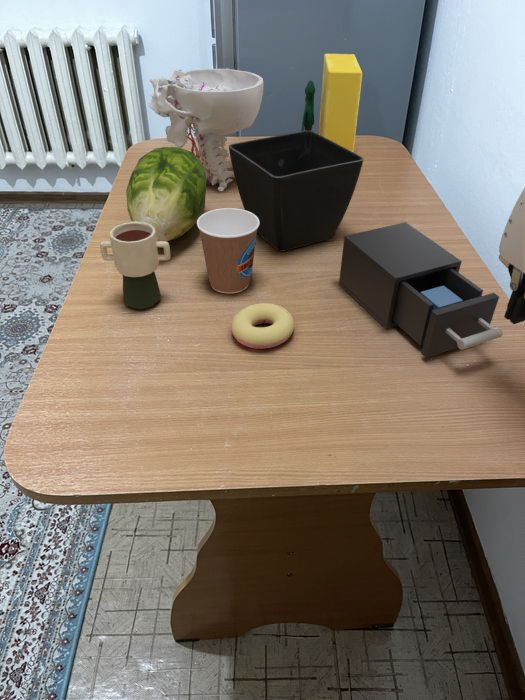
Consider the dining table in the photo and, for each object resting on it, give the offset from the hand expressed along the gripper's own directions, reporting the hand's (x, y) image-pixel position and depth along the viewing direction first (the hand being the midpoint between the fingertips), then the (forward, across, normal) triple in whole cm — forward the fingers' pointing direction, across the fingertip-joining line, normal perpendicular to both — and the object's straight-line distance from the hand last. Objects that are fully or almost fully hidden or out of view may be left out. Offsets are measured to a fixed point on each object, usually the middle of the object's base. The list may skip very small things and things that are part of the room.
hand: (517, 318), depth 73 cm
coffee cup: (+13, +40, +24) cm, 48 cm away
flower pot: (+13, +52, +5) cm, 54 cm away
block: (+10, +13, 0) cm, 17 cm away
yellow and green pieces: (+13, +82, -19) cm, 85 cm away
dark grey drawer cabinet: (+12, +24, 0) cm, 27 cm away
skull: (+13, +83, +11) cm, 85 cm away
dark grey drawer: (+11, +12, 0) cm, 17 cm away
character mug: (+13, +41, +40) cm, 58 cm away
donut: (+12, +24, +25) cm, 37 cm away
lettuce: (+13, +62, +28) cm, 69 cm away
